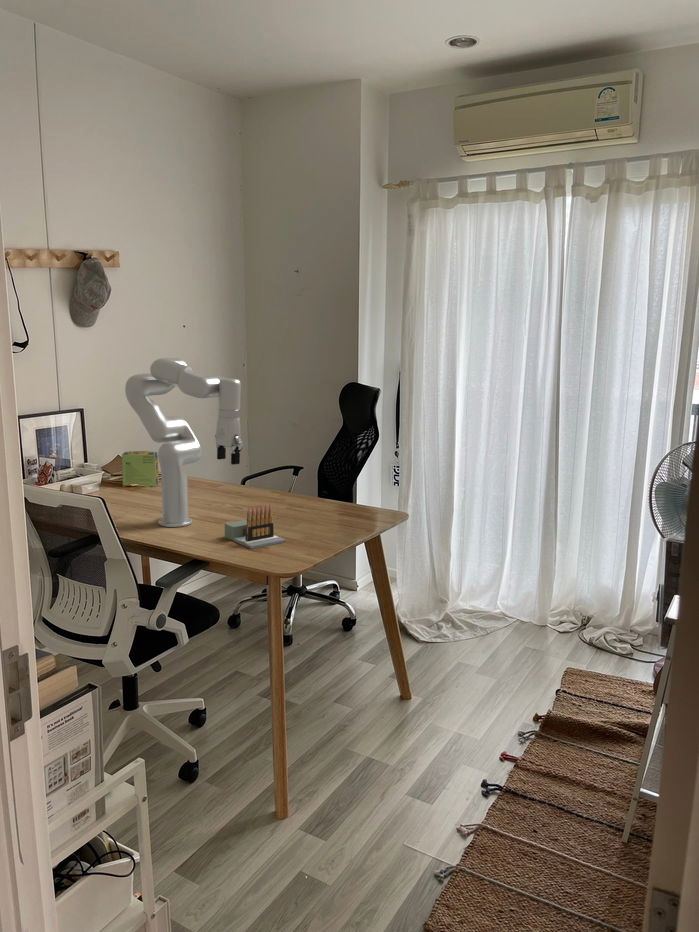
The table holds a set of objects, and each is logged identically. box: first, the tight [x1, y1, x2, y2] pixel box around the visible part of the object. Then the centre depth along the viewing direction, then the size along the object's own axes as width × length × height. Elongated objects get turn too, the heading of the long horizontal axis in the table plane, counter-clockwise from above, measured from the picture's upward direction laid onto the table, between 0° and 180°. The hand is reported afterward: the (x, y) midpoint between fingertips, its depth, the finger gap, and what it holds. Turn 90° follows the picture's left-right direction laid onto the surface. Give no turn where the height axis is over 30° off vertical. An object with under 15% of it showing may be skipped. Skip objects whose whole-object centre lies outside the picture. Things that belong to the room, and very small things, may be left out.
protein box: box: [121, 450, 160, 487], centre depth 346 cm, size 10×15×16 cm
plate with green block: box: [224, 519, 286, 550], centre depth 262 cm, size 18×14×5 cm
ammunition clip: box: [245, 503, 275, 542], centre depth 259 cm, size 11×2×12 cm, turn 129°
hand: (228, 461), depth 263 cm, fingers open, 9 cm apart
